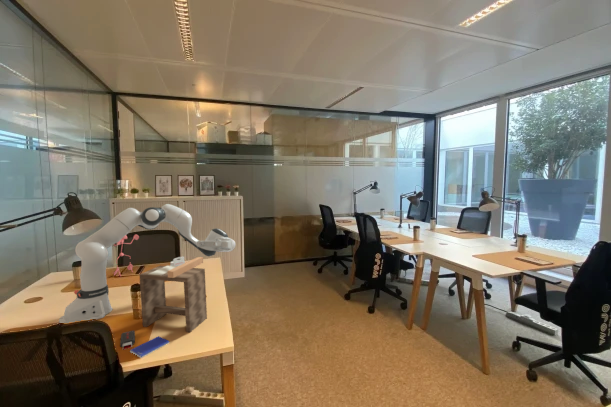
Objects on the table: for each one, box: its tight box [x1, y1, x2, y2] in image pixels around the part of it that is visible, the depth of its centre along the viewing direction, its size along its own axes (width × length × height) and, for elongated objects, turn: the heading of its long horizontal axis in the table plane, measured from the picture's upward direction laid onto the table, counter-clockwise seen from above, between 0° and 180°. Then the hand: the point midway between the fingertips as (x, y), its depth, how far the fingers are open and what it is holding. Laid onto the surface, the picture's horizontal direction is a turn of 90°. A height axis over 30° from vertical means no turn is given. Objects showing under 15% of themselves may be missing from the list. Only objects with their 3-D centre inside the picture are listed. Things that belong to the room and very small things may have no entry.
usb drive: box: [119, 330, 136, 350], centre depth 129 cm, size 5×12×3 cm, turn 29°
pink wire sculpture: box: [113, 234, 140, 277], centre depth 221 cm, size 15×26×35 cm, turn 152°
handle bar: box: [168, 256, 204, 278], centre depth 146 cm, size 24×3×3 cm, turn 167°
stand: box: [139, 264, 208, 333], centre depth 145 cm, size 14×26×26 cm, turn 77°
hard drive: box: [129, 335, 170, 359], centre depth 125 cm, size 2×8×12 cm
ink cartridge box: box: [169, 255, 186, 266], centre depth 212 cm, size 9×5×15 cm, turn 143°
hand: (206, 243), depth 166 cm, fingers open, 8 cm apart
